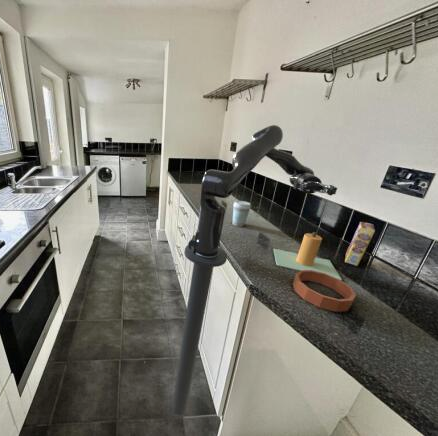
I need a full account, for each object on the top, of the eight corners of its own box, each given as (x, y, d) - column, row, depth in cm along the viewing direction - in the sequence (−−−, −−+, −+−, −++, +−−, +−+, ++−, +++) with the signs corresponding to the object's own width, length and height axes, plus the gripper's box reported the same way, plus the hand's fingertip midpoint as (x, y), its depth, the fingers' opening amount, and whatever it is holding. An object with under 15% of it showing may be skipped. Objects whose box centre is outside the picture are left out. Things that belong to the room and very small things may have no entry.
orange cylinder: (297, 264, 87) (307, 234, 82) (294, 257, 91) (304, 228, 87) (314, 267, 85) (325, 237, 80) (310, 260, 90) (321, 231, 85)
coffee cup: (226, 223, 122) (230, 202, 118) (234, 220, 127) (238, 199, 123) (241, 229, 116) (247, 206, 112) (249, 225, 122) (254, 203, 117)
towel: (276, 265, 86) (277, 264, 85) (273, 249, 98) (273, 248, 98) (341, 280, 79) (342, 279, 79) (329, 261, 91) (329, 260, 91)
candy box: (358, 267, 88) (375, 230, 82) (344, 262, 91) (359, 227, 85) (358, 258, 94) (374, 224, 89) (345, 254, 97) (359, 221, 91)
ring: (297, 301, 68) (301, 291, 66) (289, 275, 80) (293, 265, 79) (358, 318, 63) (364, 307, 61) (340, 287, 75) (344, 277, 74)
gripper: (293, 172, 103) (300, 179, 89) (330, 176, 99) (344, 184, 85) (288, 189, 106) (294, 197, 92) (324, 193, 101) (337, 203, 87)
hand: (318, 191), depth 88 cm, fingers open, 8 cm apart
